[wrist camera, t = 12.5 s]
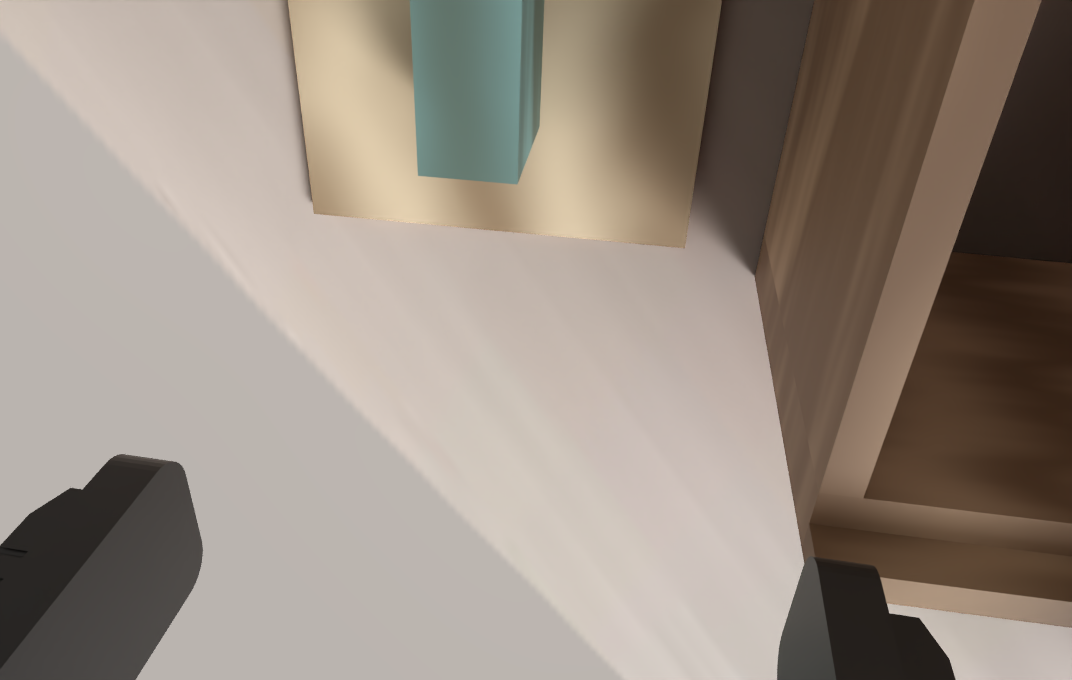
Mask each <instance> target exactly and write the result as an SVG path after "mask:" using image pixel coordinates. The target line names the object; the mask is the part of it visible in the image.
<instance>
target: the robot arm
mask: <svg viewBox="0 0 1072 680" xmlns="http://www.w3.org/2000/svg"><path fill="white" fill-rule="evenodd" d="M202 552H203V548H202V540H201V536H200V532H199V528H198V523H197V520H196V515H195V512H194V507H193V503H192V499H191V495H190V490H189V486H188V482H187V478H186V474H185V471H184V470H183V467H182V466H181V465H180V464H179V463H177V462H173V461H166V460H159V459H152V458H145V457H138V456H131V455H125V454H120V455H117V456H114V457H113V458H111V459H110V460H109V461H108V462H107V463H106V464H105V465H104V466H103V467H102V468H101V469H100V471H99V472H98V473H97V474H96V475H95V476H94V477H93V478H92V480H91V481H90V482H89V483H88V484H87V485H86V486H85V487H84V489H83V490H81V489H74V488H70V489H68V490H67V491H65V492H64V493H62V494H60V495H59V496H57V497H56V498H54V499H52V500H51V501H49V502H48V503H46V504H45V505H43V506H42V507H40V508H38V509H37V510H35V511H34V512H32V513H30V514H29V515H28V516H27V517H26V518H25V519H24V521H23V522H22V523H21V524H20V525H19V526H18V527H17V528H16V529H15V530H14V531H13V532H12V533H11V535H10V536H9V537H8V538H7V539H6V540H5V541H4V542H3V543H2V544H1V545H0V680H135V679H136V678H137V676H138V675H139V673H140V672H141V670H142V668H143V667H144V665H145V664H146V662H147V661H148V659H149V657H150V656H151V654H152V653H153V651H154V649H155V648H156V646H157V645H158V643H159V642H160V640H161V638H162V637H163V635H164V634H165V632H166V631H167V629H168V627H169V625H170V624H171V623H172V621H173V619H174V618H175V616H176V615H177V613H178V612H179V610H180V608H181V607H182V605H183V604H184V602H185V600H186V599H187V597H188V595H189V594H190V592H191V591H192V589H193V587H194V585H195V583H196V580H197V578H198V575H199V571H200V567H201V563H202ZM777 680H955V676H954V673H953V670H952V667H951V663H950V660H949V658H948V657H947V655H946V654H945V653H944V651H943V650H942V648H941V647H940V646H939V644H938V643H937V642H936V640H935V639H934V638H933V636H932V635H931V634H930V632H929V631H928V629H927V628H926V627H925V625H924V624H923V623H922V621H921V620H920V619H919V618H916V617H909V616H903V615H896V614H889V611H888V607H887V603H886V599H885V594H884V590H883V586H882V582H881V578H880V575H879V573H878V570H877V569H876V567H875V566H873V565H868V564H861V563H854V562H847V561H840V560H833V559H827V558H820V557H813V556H810V557H808V559H807V560H806V562H805V564H804V567H803V570H802V573H801V576H800V579H799V582H798V586H797V589H796V592H795V595H794V598H793V601H792V604H791V608H790V611H789V614H788V617H787V620H786V623H785V626H784V630H783V633H782V636H781V641H780V646H779V654H778V668H777Z"/></svg>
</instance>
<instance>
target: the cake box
mask: <svg viewBox="0 0 1072 680" xmlns="http://www.w3.org/2000/svg"><path fill="white" fill-rule="evenodd" d="M1041 1H1042V0H814V4H813V9H812V14H811V18H810V23H809V28H808V32H807V37H806V42H805V46H804V51H803V55H802V60H801V65H800V69H799V74H798V79H797V83H796V88H795V93H794V97H793V102H792V106H791V111H790V116H789V120H788V125H787V130H786V134H785V139H784V144H783V148H782V153H781V157H780V162H779V167H778V171H777V176H776V181H775V185H774V190H773V195H772V199H771V204H770V208H769V213H768V218H767V222H766V227H765V232H764V236H763V241H762V246H761V250H760V255H759V259H758V264H757V269H756V273H755V281H756V287H757V293H758V298H759V304H760V310H761V316H762V322H763V327H764V333H765V339H766V345H767V350H768V356H769V362H770V368H771V373H772V379H773V385H774V391H775V396H776V402H777V408H778V414H779V419H780V425H781V431H782V437H783V443H784V448H785V454H786V460H787V466H788V471H789V477H790V483H791V489H792V494H793V500H794V506H795V512H796V517H797V523H798V529H799V535H800V541H801V546H802V552H803V558H804V564H805V562H806V560H807V559H808V557H810V556H813V557H820V558H827V559H833V560H840V561H847V562H854V563H861V564H868V565H873V566H875V567H876V569H877V570H878V573H879V575H880V578H881V582H882V586H883V590H884V594H885V599H886V603H889V604H896V605H904V606H911V607H919V608H926V609H934V610H942V611H949V612H957V613H964V614H972V615H979V616H987V617H995V618H1002V619H1010V620H1017V621H1025V622H1032V623H1040V624H1048V625H1055V626H1063V627H1070V628H1072V263H1063V262H1052V261H1042V260H1032V259H1021V258H1011V257H1001V256H990V255H980V254H969V253H959V252H952V249H953V246H954V244H955V241H956V238H957V235H958V233H959V230H960V227H961V224H962V221H963V219H964V216H965V213H966V210H967V207H968V205H969V202H970V199H971V196H972V193H973V191H974V188H975V185H976V182H977V180H978V177H979V174H980V171H981V168H982V166H983V163H984V160H985V157H986V154H987V152H988V149H989V146H990V143H991V140H992V138H993V135H994V132H995V129H996V127H997V124H998V121H999V118H1000V115H1001V113H1002V110H1003V107H1004V104H1005V101H1006V99H1007V96H1008V93H1009V90H1010V87H1011V85H1012V82H1013V79H1014V76H1015V74H1016V71H1017V68H1018V65H1019V62H1020V60H1021V57H1022V54H1023V51H1024V48H1025V46H1026V43H1027V40H1028V37H1029V34H1030V32H1031V29H1032V26H1033V23H1034V21H1035V18H1036V15H1037V12H1038V9H1039V7H1040V4H1041Z"/></svg>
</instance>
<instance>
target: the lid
mask: <svg viewBox="0 0 1072 680" xmlns="http://www.w3.org/2000/svg"><path fill="white" fill-rule="evenodd" d="M721 4H722V0H288V7H289V15H290V23H291V31H292V39H293V48H294V56H295V64H296V72H297V80H298V88H299V96H300V104H301V112H302V121H303V129H304V137H305V145H306V153H307V161H308V169H309V177H310V186H311V194H312V202H313V210H314V214H323V215H334V216H344V217H355V218H366V219H377V220H387V221H398V222H409V223H420V224H431V225H441V226H452V227H463V228H474V229H484V230H495V231H506V232H517V233H527V234H538V235H549V236H560V237H570V238H581V239H592V240H603V241H614V242H624V243H635V244H646V245H657V246H667V247H678V248H685V243H686V237H687V230H688V223H689V217H690V210H691V203H692V197H693V190H694V183H695V177H696V170H697V163H698V157H699V150H700V144H701V137H702V130H703V124H704V117H705V110H706V104H707V97H708V90H709V84H710V77H711V71H712V64H713V57H714V51H715V44H716V37H717V31H718V24H719V17H720V11H721Z"/></svg>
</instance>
